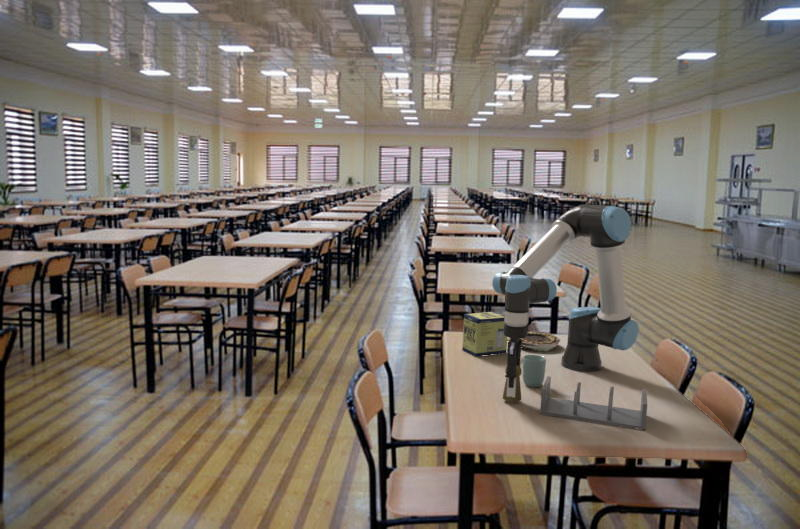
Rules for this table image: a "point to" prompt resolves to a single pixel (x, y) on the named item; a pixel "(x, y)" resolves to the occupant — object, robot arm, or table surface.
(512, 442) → the table surface
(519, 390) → the cork
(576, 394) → the rack
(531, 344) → the pie
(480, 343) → the protein box
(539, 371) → the cup
